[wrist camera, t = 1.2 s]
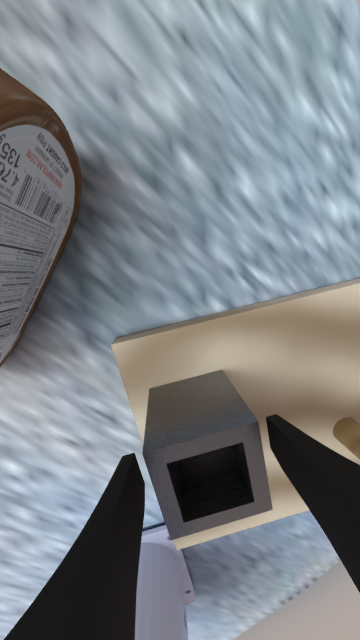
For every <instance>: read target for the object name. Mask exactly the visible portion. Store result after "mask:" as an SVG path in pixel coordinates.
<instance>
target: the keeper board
mask: <svg viewBox="0 0 360 640" xmlns="http://www.w3.org/2000/svg"><path fill="white" fill-rule="evenodd" d="M111 347H112V350H113V353H114V356H115V359H116V362H117V365H118V368H119V372H120V375H121V378H122V381H123V384H124V387H125V390H126V393H127V396H128V400H129V403H130V406H131V409H132V412H133V415H134V418H135V421H136V424H137V428H138V431H139V434H140V437H141V440H142V443H143V444H144V434H145V425H146V415H147V405H148V396H149V388H153V387H157V386H161V385H164V384H168V383H172V382H176V381H180V380H184V379H187V378H191V377H195V376H199V375H203V374H207V373H210V372H214V371H218V370H223V371H224V373H225V374H226V376H227V377H228V379H229V380H230V381H231V383H232V384H233V386H234V387H235V389H236V390H237V391H238V393H239V394H240V396H241V397H242V399H243V400H244V402H245V403H246V404H247V406H248V407H249V409H250V410H251V412H252V413H253V414H254V416H255V417H256V419H257V420H258V422H259V428H260V435H261V441H262V447H263V453H264V459H265V465H266V471H267V477H268V483H269V489H270V495H271V501H272V507H273V510H270V511H267V512H264V513H261V514H257V515H254V516H251V517H247V518H244V519H241V520H237V521H234V522H231V523H227V524H224V525H221V526H217V527H214V528H211V529H208V530H204V531H201V532H198V533H194V534H191V535H188V536H184V537H181V538H178V539H174V543H175V546H176V549H177V550H180V549H183V548H186V547H189V546H193V545H196V544H199V543H203V542H206V541H209V540H212V539H216V538H219V537H222V536H226V535H229V534H232V533H235V532H239V531H242V530H245V529H249V528H252V527H255V526H258V525H262V524H265V523H268V522H271V521H275V520H278V519H281V518H285V517H288V516H291V515H294V514H298V513H301V512H304V511H308V510H309V508H308V507H307V505H306V504H305V502H304V501H303V500H302V498H301V497H300V495H299V494H298V492H297V491H296V489H295V488H294V486H293V485H292V483H291V482H290V480H289V479H288V477H287V476H286V474H285V473H284V471H283V470H282V468H281V466H280V465H279V463H278V461H277V459H276V457H275V456H274V454H273V452H272V450H271V448H270V442H269V436H268V429H267V423H266V417H267V416H271V415H275V414H277V415H279V416H280V417H282V418H283V419H285V420H286V421H288V422H289V423H291V424H292V425H294V426H295V427H297V428H298V429H300V430H301V431H303V432H304V433H306V434H307V435H309V436H310V437H312V438H314V439H315V440H317V441H318V442H320V443H322V444H323V445H325V446H327V447H328V448H330V449H332V450H333V451H335V452H337V453H339V454H340V455H342V456H344V457H346V458H348V459H349V460H351V461H353V462H355V463H357V464H359V465H360V278H358V279H354V280H350V281H346V282H342V283H337V284H333V285H329V286H325V287H321V288H317V289H313V290H309V291H305V292H301V293H297V294H293V295H289V296H285V297H281V298H277V299H272V300H268V301H264V302H260V303H256V304H252V305H248V306H244V307H240V308H236V309H232V310H228V311H224V312H220V313H216V314H212V315H207V316H203V317H199V318H195V319H191V320H187V321H183V322H179V323H175V324H171V325H167V326H163V327H159V328H155V329H151V330H147V331H142V332H138V333H134V334H130V335H126V336H122V337H118V338H116V339H115V340H114V342H113V343H112V344H111Z"/></svg>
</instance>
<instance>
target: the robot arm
mask: <svg viewBox="0 0 360 640" xmlns="http://www.w3.org/2000/svg"><path fill="white" fill-rule="evenodd" d="M266 423H267V429H268V436H269V442H270V448H271V450H272V452H273V454H274V456H275V457H276V459H277V461H278V463H279V465H280V466H281V468H282V470H283V471H284V473H285V474H286V476H287V477H288V479H289V480H290V482H291V483H292V485H293V486H294V488H295V489H296V491H297V492H298V494H299V495H300V497H301V498H302V500H303V501H304V502H305V504H306V505H307V507H308V508H309V510H310V511H311V513H312V514H313V516H314V517H315V519H316V520H317V522H318V523H319V525H320V526H321V528H322V529H323V531H324V532H325V534H326V536H327V537H328V539H329V541H330V542H331V544H332V546H333V548H334V549H335V551H336V553H337V554H338V556H339V558H340V559H341V561H342V563H343V565H344V566H345V568H346V569H347V571H348V573H349V575H350V577H351V578H352V580H353V582H354V584H355V585H356V587H357V589H358V591H359V592H360V465H359V464H357V463H355V462H353V461H351V460H349V459H348V458H346V457H344V456H342V455H340V454H339V453H337V452H335V451H333V450H332V449H330V448H328V447H327V446H325V445H323V444H322V443H320V442H318V441H317V440H315V439H314V438H312V437H310V436H309V435H307V434H306V433H304V432H303V431H301V430H300V429H298V428H297V427H295V426H294V425H292V424H291V423H289V422H288V421H286V420H285V419H283V418H282V417H280V416H279V415H277V414H275V415H271V416H267V417H266ZM144 507H145V483H144V480H143V477H142V474H141V471H140V468H139V465H138V462H137V459H136V456H135V453H132V454H129V455H125V456H123V457H122V458H121V460H120V462H119V464H118V466H117V468H116V470H115V472H114V474H113V476H112V478H111V480H110V482H109V484H108V486H107V487H106V489H105V491H104V493H103V495H102V497H101V498H100V500H99V502H98V504H97V506H96V508H95V509H94V511H93V513H92V514H91V516H90V518H89V520H88V521H87V523H86V525H85V526H84V528H83V530H82V531H81V533H80V535H79V536H78V538H77V539H76V541H75V543H74V544H73V546H72V547H71V549H70V550H69V552H68V553H67V555H66V556H65V558H64V559H63V561H62V562H61V564H60V565H59V567H58V568H57V569H56V571H55V572H54V574H53V575H52V577H51V578H50V579H49V581H48V582H47V584H46V585H45V586H44V588H43V589H42V590H41V592H40V593H39V595H38V596H37V597H36V599H35V600H34V602H33V603H32V604H31V606H30V607H29V608H28V609H27V611H26V612H25V613H24V615H23V616H22V617H21V618H20V620H19V621H18V622H17V624H16V625H15V626H14V628H13V629H12V630H11V631H10V633H9V634H8V635H7V636H6V638H5V639H4V640H188V630H187V617H186V604H187V603H190V602H193V601H194V600H195V591H194V588H193V584H192V581H191V578H190V575H189V572H188V569H187V565H186V562H185V559H184V556H183V553H182V549H180V550H177V549H176V546H175V543H174V540H171V539H170V536H169V533H168V530H167V527H166V525H163V526H160V527H156V528H153V529H150V530H146V531H143V532H142V529H143V519H144Z"/></svg>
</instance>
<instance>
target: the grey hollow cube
mask: <svg viewBox="0 0 360 640" xmlns="http://www.w3.org/2000/svg"><path fill="white" fill-rule="evenodd" d="M143 457H144V460H145V463H146V466H147V469H148V472H149V475H150V478H151V481H152V484H153V487H154V490H155V493H156V496H157V499H158V503H159V506H160V509H161V512H162V515H163V518H164V521H165V524H166V527H167V530H168V533H169V536H170V539H171V540H174V539H178V538H181V537H184V536H188V535H191V534H194V533H198V532H201V531H204V530H208V529H211V528H214V527H217V526H221V525H224V524H227V523H231V522H234V521H237V520H241V519H244V518H247V517H251V516H254V515H257V514H261V513H264V512H267V511H270V510H273V507H272V501H271V495H270V489H269V483H268V477H267V471H266V465H265V459H264V453H263V447H262V441H261V435H260V428H259V422H258V420H257V419H256V417H255V416H254V414H253V413H252V412H251V410H250V409H249V407H248V406H247V404H246V403H245V402H244V400H243V399H242V397H241V396H240V394H239V393H238V391H237V390H236V389H235V387H234V386H233V384H232V383H231V381H230V380H229V379H228V377H227V376H226V374H225V373H224V371H223V370H218V371H214V372H210V373H207V374H203V375H199V376H195V377H191V378H187V379H184V380H180V381H176V382H172V383H168V384H164V385H161V386H157V387H153V388H149V396H148V405H147V415H146V425H145V434H144V444H143Z"/></svg>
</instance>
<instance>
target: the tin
mask: <svg viewBox="0 0 360 640" xmlns="http://www.w3.org/2000/svg"><path fill="white" fill-rule="evenodd" d="M80 195H81V169H80V163H79V160H78V156H77V154H76V151H75V149H74V146H73V143H72V141H71V138H70V136H69V133H68V131H67V129H66V128H65V126H64V124H63V122H62V121H61V119H60V118H59V116H58V115H57V114H56V112H55V111H54V110H53V109H52V108H51V107H50V106H49V105H48V104H47V103H46V102H45V101H44V100H42V99H41V98H40V97H39V96H37V95H36V94H35V93H33V92H32V91H31V90H29V89H28V88H27V87H25V86H24V85H23V84H21V83H20V82H19V81H17V80H16V79H14V78H13V77H11V76H10V75H9V74H7V73H6V72H5V71H3V70H2V69H1V68H0V366H1V365H2V364H3V363H4V361H5V360H6V358H7V357H8V356H9V354H10V353H11V351H12V350H13V348H14V347H15V345H16V344H17V342H18V340H19V338H20V336H21V334H22V332H23V330H24V328H25V326H26V324H27V322H28V320H29V318H30V316H31V314H32V312H33V310H34V308H35V306H36V304H37V302H38V300H39V298H40V296H41V294H42V292H43V290H44V288H45V286H46V284H47V282H48V280H49V278H50V276H51V274H52V272H53V270H54V267H55V265H56V263H57V261H58V259H59V257H60V255H61V253H62V251H63V249H64V246H65V244H66V242H67V240H68V238H69V236H70V233H71V231H72V228H73V225H74V223H75V219H76V216H77V212H78V208H79V203H80Z"/></svg>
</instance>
